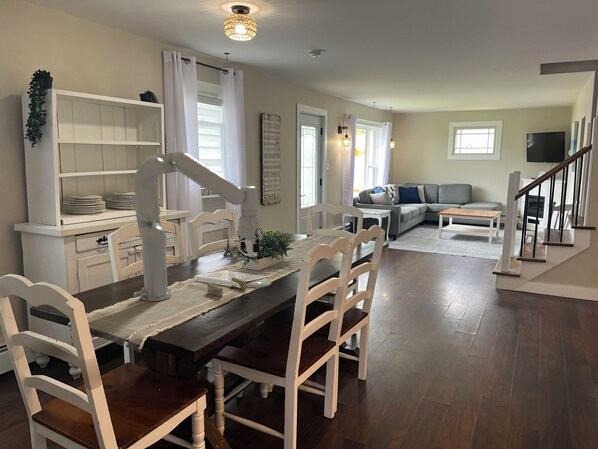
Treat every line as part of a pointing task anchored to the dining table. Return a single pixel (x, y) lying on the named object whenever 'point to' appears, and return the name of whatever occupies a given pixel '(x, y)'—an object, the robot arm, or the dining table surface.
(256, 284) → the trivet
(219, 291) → the maple blocks
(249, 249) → the cup
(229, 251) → the eiffel tower figurine
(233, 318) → the dining table surface
